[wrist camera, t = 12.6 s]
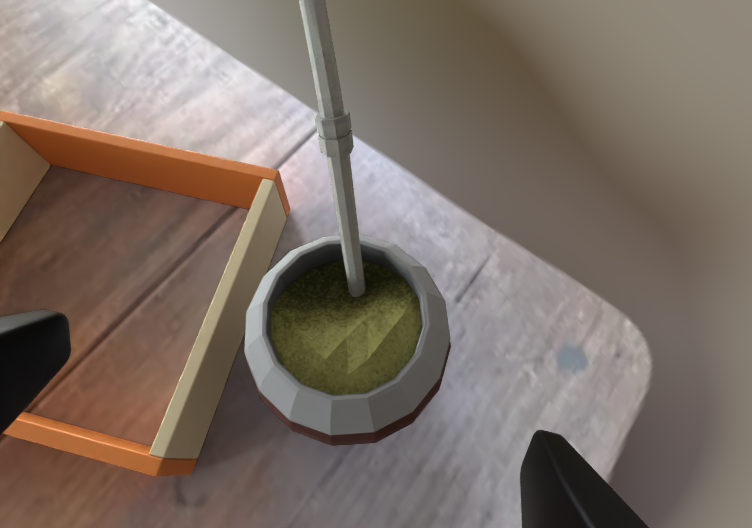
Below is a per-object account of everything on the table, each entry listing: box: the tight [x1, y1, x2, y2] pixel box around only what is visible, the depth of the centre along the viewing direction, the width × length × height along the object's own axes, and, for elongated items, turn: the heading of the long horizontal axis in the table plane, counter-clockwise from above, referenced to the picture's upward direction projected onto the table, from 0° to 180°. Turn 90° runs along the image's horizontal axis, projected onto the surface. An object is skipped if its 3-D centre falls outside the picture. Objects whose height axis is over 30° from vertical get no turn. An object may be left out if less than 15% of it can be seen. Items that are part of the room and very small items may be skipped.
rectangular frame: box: [0, 111, 290, 476], centre depth 20 cm, size 13×14×4 cm
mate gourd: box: [244, 0, 451, 446], centre depth 14 cm, size 8×8×15 cm
